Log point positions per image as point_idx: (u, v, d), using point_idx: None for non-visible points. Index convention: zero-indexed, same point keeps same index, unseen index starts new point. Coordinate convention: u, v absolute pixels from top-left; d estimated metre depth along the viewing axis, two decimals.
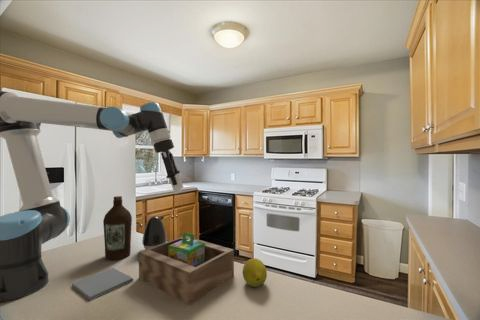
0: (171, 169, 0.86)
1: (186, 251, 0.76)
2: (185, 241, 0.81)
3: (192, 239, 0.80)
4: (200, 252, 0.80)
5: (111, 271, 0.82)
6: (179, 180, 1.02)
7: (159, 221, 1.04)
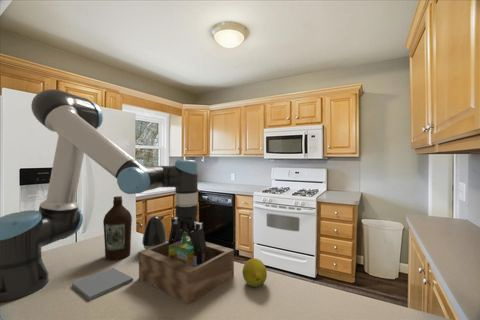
0: (205, 246, 0.77)
1: (186, 251, 0.76)
2: (185, 240, 0.81)
3: None
4: None
5: (111, 271, 0.82)
6: None
7: (159, 221, 1.04)
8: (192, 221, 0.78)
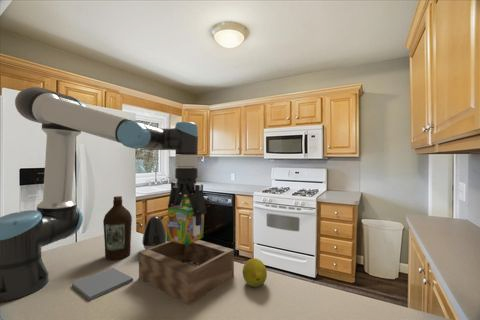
0: (204, 207, 0.77)
1: (185, 211, 0.76)
2: (184, 204, 0.81)
3: None
4: None
5: (111, 271, 0.82)
6: None
7: (159, 221, 1.04)
8: (192, 183, 0.78)
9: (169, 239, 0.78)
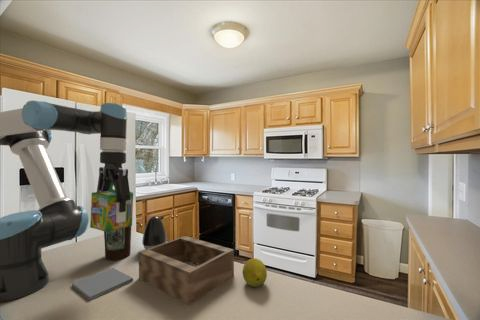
0: (128, 193, 0.73)
1: (107, 196, 0.72)
2: (111, 189, 0.78)
3: None
4: (126, 201, 0.77)
5: (111, 271, 0.82)
6: None
7: (159, 221, 1.04)
8: (116, 167, 0.74)
9: (92, 226, 0.75)
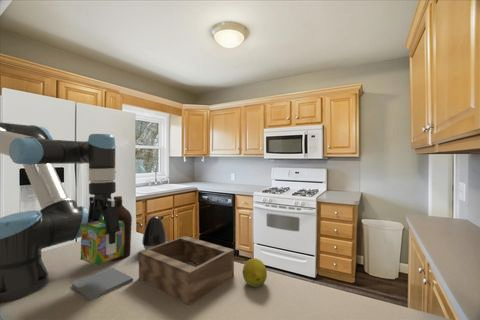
0: (117, 224, 0.72)
1: (95, 229, 0.71)
2: (101, 220, 0.77)
3: None
4: None
5: (111, 271, 0.82)
6: None
7: (159, 221, 1.04)
8: (105, 198, 0.73)
9: (82, 258, 0.74)
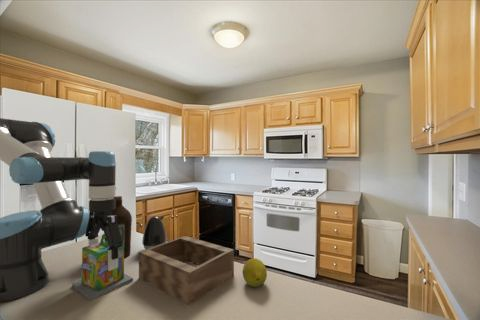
0: (119, 240, 0.72)
1: (95, 254, 0.71)
2: (102, 243, 0.77)
3: None
4: None
5: None
6: None
7: (159, 221, 1.04)
8: (105, 215, 0.74)
9: (83, 282, 0.74)
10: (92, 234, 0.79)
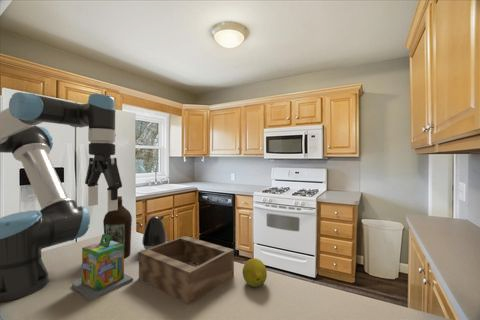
0: (119, 180, 0.72)
1: (95, 254, 0.71)
2: (102, 243, 0.77)
3: (108, 241, 0.76)
4: (116, 255, 0.75)
5: None
6: (96, 194, 0.81)
7: (159, 221, 1.04)
8: (104, 158, 0.74)
9: (83, 282, 0.74)
10: (92, 180, 0.79)
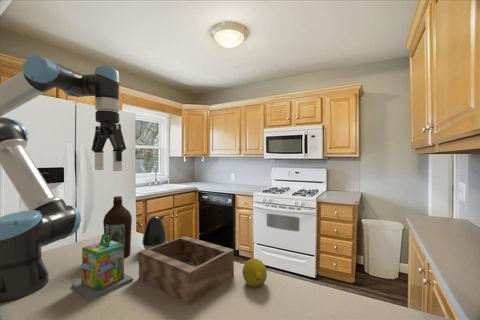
0: (123, 143, 0.80)
1: (95, 254, 0.71)
2: (102, 243, 0.77)
3: (108, 241, 0.76)
4: (116, 255, 0.75)
5: None
6: (101, 160, 0.89)
7: (159, 221, 1.04)
8: (110, 124, 0.82)
9: (83, 282, 0.74)
10: (98, 147, 0.87)
